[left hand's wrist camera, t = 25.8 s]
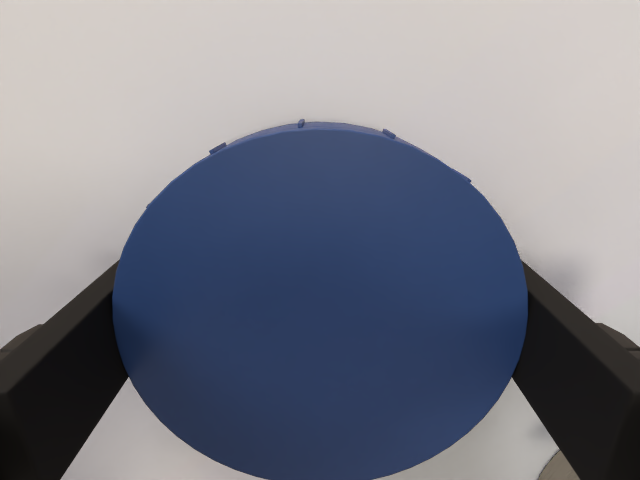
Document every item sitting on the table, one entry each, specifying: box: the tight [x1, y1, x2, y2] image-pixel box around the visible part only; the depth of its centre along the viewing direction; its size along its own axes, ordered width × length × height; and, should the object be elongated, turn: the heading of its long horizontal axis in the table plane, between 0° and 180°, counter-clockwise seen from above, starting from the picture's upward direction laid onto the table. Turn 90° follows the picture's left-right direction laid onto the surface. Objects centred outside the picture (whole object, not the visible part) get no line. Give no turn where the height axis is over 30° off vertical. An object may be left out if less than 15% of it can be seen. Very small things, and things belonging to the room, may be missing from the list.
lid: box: [112, 119, 528, 480], centre depth 11 cm, size 11×11×2 cm
